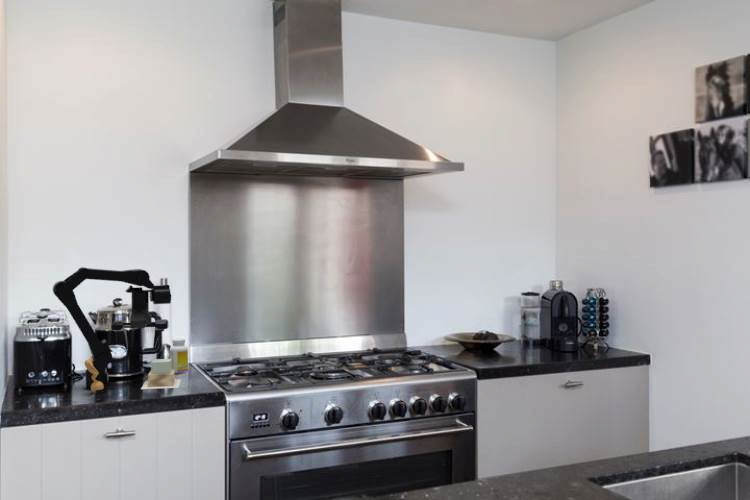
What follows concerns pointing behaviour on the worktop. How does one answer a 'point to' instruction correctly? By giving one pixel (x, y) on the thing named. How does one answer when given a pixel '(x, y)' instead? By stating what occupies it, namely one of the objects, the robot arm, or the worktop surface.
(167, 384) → the wood brick
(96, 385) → the figurine
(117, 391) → the worktop surface
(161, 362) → the sage brick
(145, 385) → the baseplate
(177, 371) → the supplement bottle
